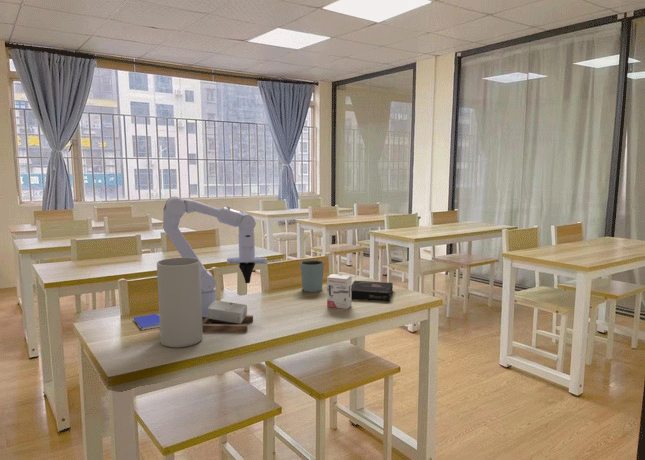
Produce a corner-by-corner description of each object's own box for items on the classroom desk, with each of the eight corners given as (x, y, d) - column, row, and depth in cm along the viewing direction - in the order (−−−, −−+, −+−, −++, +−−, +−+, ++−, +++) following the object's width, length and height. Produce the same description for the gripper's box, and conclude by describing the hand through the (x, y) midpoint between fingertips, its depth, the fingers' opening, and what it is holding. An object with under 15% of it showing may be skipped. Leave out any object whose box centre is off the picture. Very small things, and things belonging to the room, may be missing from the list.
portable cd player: (392, 291, 206) (392, 282, 205) (388, 302, 189) (389, 293, 189) (354, 289, 209) (354, 280, 209) (348, 300, 193) (348, 290, 192)
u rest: (200, 331, 156) (199, 325, 156) (209, 320, 167) (209, 314, 167) (246, 332, 156) (246, 326, 155) (253, 320, 166) (253, 315, 166)
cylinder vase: (179, 331, 156) (175, 256, 153) (211, 336, 151) (208, 259, 148) (151, 344, 145) (147, 263, 141) (185, 351, 140) (181, 267, 136)
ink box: (326, 306, 182) (326, 276, 181) (331, 303, 187) (331, 273, 185) (347, 309, 179) (347, 278, 178) (352, 305, 184) (352, 275, 182)
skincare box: (241, 313, 159) (206, 307, 161) (241, 324, 160) (207, 319, 162) (247, 304, 164) (214, 298, 166) (247, 315, 166) (214, 310, 168)
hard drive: (167, 322, 162) (157, 313, 172) (141, 327, 157) (133, 317, 167) (167, 327, 162) (157, 317, 172) (142, 331, 157) (133, 321, 168)
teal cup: (298, 291, 203) (298, 264, 202) (303, 285, 213) (303, 259, 212) (322, 293, 202) (322, 265, 200) (325, 286, 212) (325, 260, 210)
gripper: (224, 248, 172) (225, 285, 174) (264, 248, 171) (265, 285, 173) (229, 245, 179) (230, 280, 181) (267, 245, 178) (268, 280, 180)
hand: (247, 282), depth 178 cm, fingers closed
